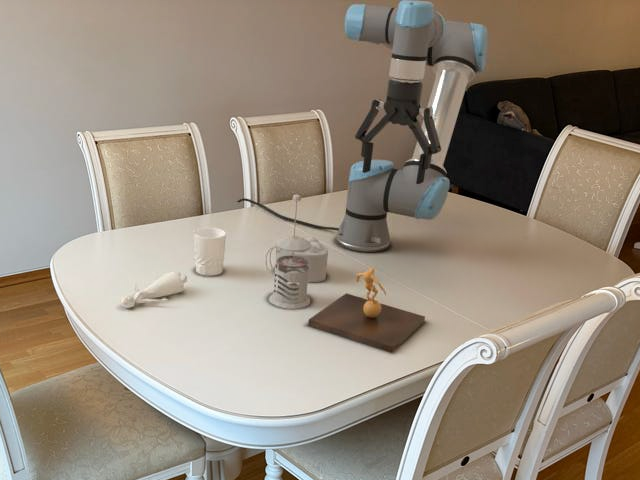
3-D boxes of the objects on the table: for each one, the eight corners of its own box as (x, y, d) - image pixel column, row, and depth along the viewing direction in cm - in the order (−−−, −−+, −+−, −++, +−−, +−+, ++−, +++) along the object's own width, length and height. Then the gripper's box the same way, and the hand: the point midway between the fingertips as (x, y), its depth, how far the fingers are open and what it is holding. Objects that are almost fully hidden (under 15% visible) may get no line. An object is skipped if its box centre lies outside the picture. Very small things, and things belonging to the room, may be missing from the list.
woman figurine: (199, 276, 161) (137, 303, 149) (200, 294, 163) (139, 322, 151) (166, 262, 167) (103, 287, 155) (167, 279, 169) (106, 304, 158)
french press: (296, 312, 158) (305, 204, 146) (254, 298, 163) (258, 193, 151) (318, 298, 166) (327, 194, 153) (276, 285, 171) (283, 183, 158)
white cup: (230, 269, 178) (231, 231, 173) (215, 279, 172) (215, 240, 167) (203, 262, 181) (203, 225, 176) (187, 272, 174) (187, 234, 169)
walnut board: (308, 325, 153) (308, 319, 152) (345, 298, 167) (346, 293, 166) (392, 352, 144) (393, 346, 144) (424, 322, 158) (425, 316, 157)
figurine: (391, 321, 154) (399, 270, 148) (373, 328, 150) (380, 276, 144) (363, 307, 159) (369, 258, 153) (345, 314, 155) (350, 263, 150)
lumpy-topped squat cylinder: (294, 261, 186) (296, 229, 181) (334, 274, 179) (338, 242, 175) (269, 271, 178) (271, 239, 174) (311, 286, 172) (314, 253, 167)
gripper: (466, 86, 150) (449, 184, 161) (362, 71, 161) (352, 164, 171) (454, 89, 145) (437, 191, 155) (347, 74, 155) (337, 170, 166)
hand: (392, 177), depth 163 cm, fingers open, 13 cm apart
